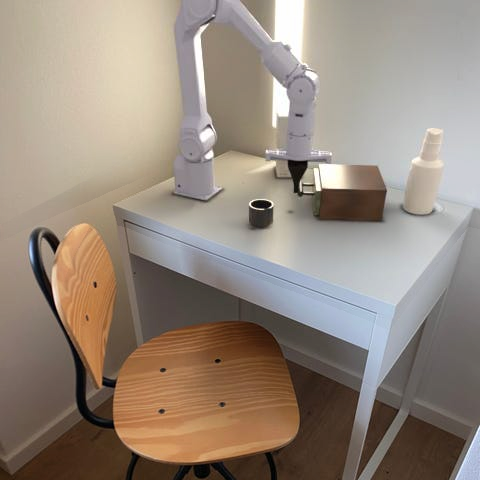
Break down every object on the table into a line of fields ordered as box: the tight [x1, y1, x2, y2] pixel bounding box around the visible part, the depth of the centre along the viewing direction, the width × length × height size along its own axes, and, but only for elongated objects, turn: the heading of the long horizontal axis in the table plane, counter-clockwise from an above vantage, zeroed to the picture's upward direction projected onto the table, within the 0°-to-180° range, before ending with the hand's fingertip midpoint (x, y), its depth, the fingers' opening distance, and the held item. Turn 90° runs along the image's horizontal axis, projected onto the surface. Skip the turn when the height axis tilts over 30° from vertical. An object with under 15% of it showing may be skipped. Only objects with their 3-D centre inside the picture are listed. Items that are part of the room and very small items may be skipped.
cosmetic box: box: [275, 108, 292, 178], centre depth 132 cm, size 8×7×16 cm
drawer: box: [296, 167, 322, 216], centre depth 118 cm, size 17×13×6 cm
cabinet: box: [317, 163, 388, 222], centre depth 117 cm, size 14×14×7 cm
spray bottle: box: [402, 127, 445, 216], centre depth 113 cm, size 7×7×18 cm
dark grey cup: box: [248, 198, 275, 229], centre depth 111 cm, size 5×5×5 cm
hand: (295, 191), depth 118 cm, fingers closed, pressing on drawer
